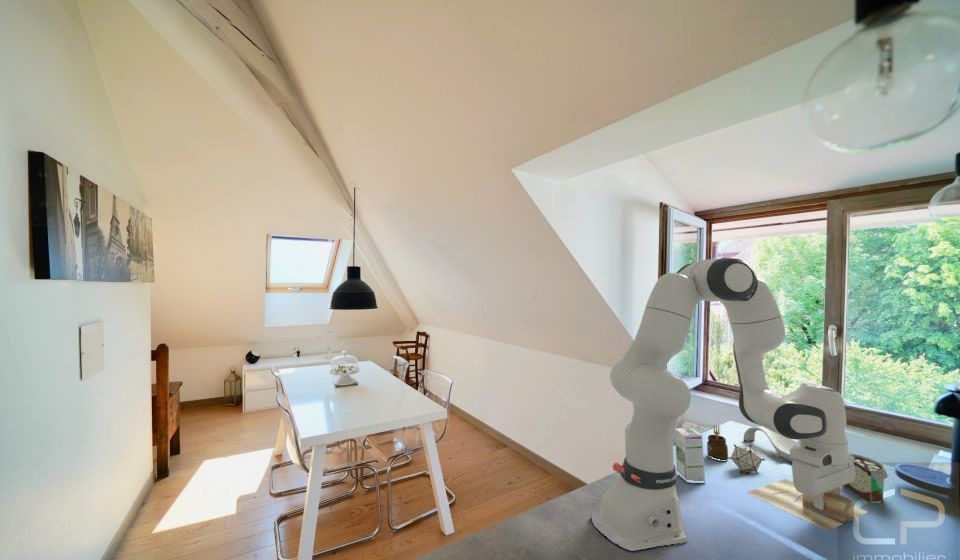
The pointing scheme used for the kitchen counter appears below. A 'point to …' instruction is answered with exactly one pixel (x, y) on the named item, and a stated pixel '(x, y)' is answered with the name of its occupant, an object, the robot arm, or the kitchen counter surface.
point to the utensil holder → (717, 446)
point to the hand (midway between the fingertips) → (827, 505)
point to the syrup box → (689, 454)
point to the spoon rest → (773, 441)
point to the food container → (868, 479)
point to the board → (796, 503)
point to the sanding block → (833, 506)
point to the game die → (746, 459)
